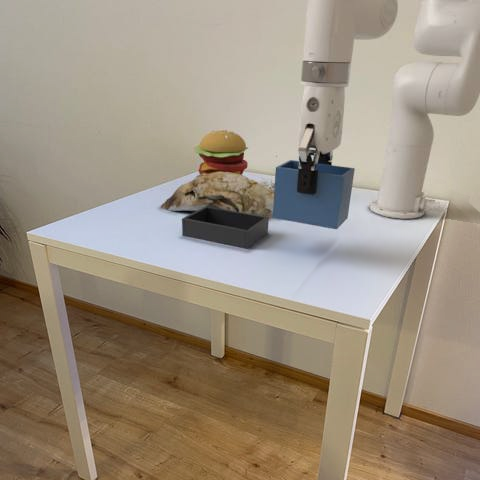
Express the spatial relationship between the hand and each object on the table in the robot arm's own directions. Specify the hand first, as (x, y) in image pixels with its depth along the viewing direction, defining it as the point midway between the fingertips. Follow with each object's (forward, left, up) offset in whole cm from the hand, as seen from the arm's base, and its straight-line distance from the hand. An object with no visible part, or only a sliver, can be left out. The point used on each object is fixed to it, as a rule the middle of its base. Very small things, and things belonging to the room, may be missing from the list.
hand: (313, 187), depth 84 cm
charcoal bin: (+17, 0, -13) cm, 21 cm away
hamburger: (+35, -31, -13) cm, 49 cm away
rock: (+26, -16, -13) cm, 33 cm away
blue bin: (0, 0, -6) cm, 6 cm away
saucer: (+17, -34, -13) cm, 40 cm away
